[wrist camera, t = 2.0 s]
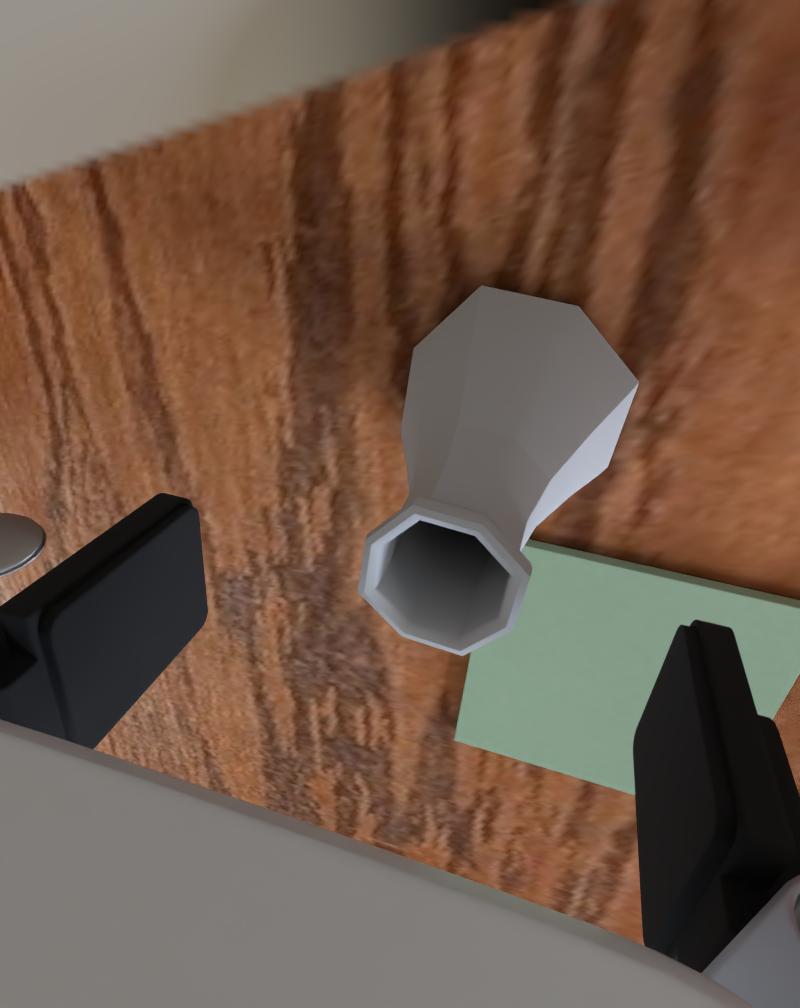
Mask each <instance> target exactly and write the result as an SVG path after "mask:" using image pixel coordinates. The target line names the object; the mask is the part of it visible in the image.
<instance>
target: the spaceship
mask: <svg viewBox="0 0 800 1008" xmlns="http://www.w3.org/2000/svg"><path fill="white" fill-rule="evenodd" d="M46 537H47V535H46V533H45V531H44V529H43V528H42V527H41V526H40V525H38V523H36V522H35V521H33V520H32V519H30V518H28V517H25V516H21V515H16V514H10V513H0V577H3V576H6V575H8V574H11V573H13V572H15V571H17V570H20V569H22V568H24V567H25V566H26V565H28V564H29V563H31V562H32V561H33V560H35V559H36V558H37V557H38V556H39V554H40V553H41V552H42V550H43V549H44V548H45V544H46Z"/></svg>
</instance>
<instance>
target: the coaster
mask: <svg viewBox="0 0 800 1008" xmlns="http://www.w3.org/2000/svg"><path fill="white" fill-rule="evenodd" d="M521 552H522V553H523V554H524V556H525V557H526V558H527V559H528V560H529V561H530V562H531V566H532V574H531V577H530V580H529V583H528V586H527V589H526V592H525V595H524V598H523V601H522V604H521V607H520V610H519V613H518V616H517V619H516V622H515V625H514V628H513V630H512V631H510V632H509V633H507V634H505V635H503V636H501V637H499V638H497V639H495V640H493V641H491V642H489V643H487V644H485V645H483V646H481V647H479V648H477V649H475V650H473V651H471V652H470V657H469V662H468V668H467V673H466V678H465V683H464V689H463V694H462V699H461V704H460V710H459V715H458V720H457V725H456V731H455V736H454V740H455V741H459V742H462V743H465V744H468V745H472V746H475V747H478V748H482V749H485V750H488V751H491V752H495V753H498V754H501V755H505V756H508V757H511V758H515V759H518V760H521V761H524V762H528V763H531V764H534V765H538V766H541V767H544V768H547V769H551V770H554V771H557V772H561V773H564V774H567V775H571V776H574V777H577V778H580V779H584V780H587V781H590V782H594V783H597V784H600V785H603V786H607V787H610V788H613V789H617V790H620V791H623V792H627V793H630V794H633V795H635V781H634V763H633V741H634V735H635V731H636V728H637V726H638V723H639V721H640V719H641V716H642V714H643V711H644V709H645V706H646V704H647V701H648V699H649V697H650V694H651V692H652V689H653V687H654V684H655V682H656V679H657V677H658V675H659V672H660V670H661V667H662V665H663V662H664V660H665V658H666V655H667V653H668V650H669V648H670V645H671V643H672V640H673V638H674V636H675V633H676V631H677V629H678V627H679V626H680V625H686V626H690V625H691V623H692V622H693V621H694V620H696V619H697V620H701V621H705V622H710V623H714V624H718V625H722V626H726V627H730V628H731V629H732V630H733V632H734V635H735V638H736V642H737V645H738V649H739V652H740V655H741V659H742V662H743V666H744V669H745V673H746V676H747V679H748V683H749V686H750V690H751V693H752V697H753V700H754V703H755V707H756V710H757V714H758V715H761V716H765V717H769V718H770V719H773V718H774V716H775V714H776V713H777V711H778V709H779V707H780V706H781V704H782V702H783V701H784V699H785V697H786V696H787V694H788V692H789V690H790V689H791V687H792V685H793V684H794V682H795V680H796V678H797V677H798V675H799V673H800V600H796V599H792V598H787V597H783V596H779V595H774V594H770V593H765V592H761V591H757V590H752V589H748V588H743V587H739V586H734V585H730V584H726V583H721V582H717V581H712V580H708V579H703V578H699V577H695V576H690V575H686V574H681V573H677V572H672V571H668V570H664V569H659V568H655V567H650V566H646V565H641V564H637V563H633V562H628V561H624V560H619V559H615V558H610V557H606V556H602V555H597V554H593V553H588V552H584V551H579V550H575V549H571V548H566V547H562V546H557V545H553V544H548V543H544V542H540V541H535V540H531V539H528V541H527V542H526V544H525V546H524V547H523V549H522V551H521Z"/></svg>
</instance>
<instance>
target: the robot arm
mask: <svg viewBox="0 0 800 1008" xmlns="http://www.w3.org/2000/svg"><path fill="white" fill-rule="evenodd" d="M207 613H208V607H207V597H206V586H205V575H204V565H203V554H202V543H201V533H200V522H199V514H198V511H197V509H196V508H194V507H193V505H192V503H191V501H190V500H188V499H186V498H182V497H178V496H174V495H169V494H165V493H160V494H158V495H156V496H155V497H153V498H152V499H150V500H149V501H148V502H146V503H145V504H143V505H142V506H141V507H139V508H138V509H136V510H135V511H134V512H132V513H131V514H129V515H128V516H126V517H125V518H124V519H122V520H121V521H119V522H118V523H117V524H115V525H114V526H112V527H111V528H110V529H108V530H107V531H105V532H104V533H103V534H101V535H100V536H98V537H97V538H96V539H94V540H93V541H91V542H90V543H89V544H87V545H86V546H84V547H83V548H82V549H80V550H79V551H77V552H76V553H75V554H73V555H72V556H70V557H69V558H68V559H66V560H65V561H63V562H62V563H61V564H59V565H58V566H56V567H55V568H53V569H52V570H51V571H49V572H48V573H46V574H45V575H44V576H42V577H41V578H39V579H38V580H37V581H35V582H34V583H32V584H31V585H30V586H28V587H27V588H25V589H24V590H23V591H21V592H20V593H18V594H17V595H16V596H14V597H13V598H11V599H10V600H9V601H7V602H6V603H4V604H3V605H2V606H0V1008H800V797H799V793H798V790H797V787H796V784H795V781H794V778H793V775H792V772H791V768H790V765H789V762H788V759H787V756H786V753H785V750H784V747H783V744H782V740H781V737H780V734H779V731H778V729H777V727H776V724H775V722H774V721H773V720H772V719H770V718H769V717H765V716H761V715H758V714H757V710H756V707H755V703H754V700H753V697H752V693H751V690H750V686H749V683H748V679H747V676H746V673H745V669H744V666H743V662H742V659H741V655H740V652H739V649H738V645H737V642H736V638H735V635H734V632H733V630H732V629H731V628H730V627H726V626H722V625H718V624H714V623H710V622H705V621H701V620H697V619H696V620H694V621H693V622H692V623H691V625H690V626H686V625H680V626H679V627H678V629H677V631H676V633H675V636H674V638H673V640H672V643H671V645H670V648H669V650H668V653H667V655H666V658H665V660H664V662H663V665H662V667H661V670H660V672H659V675H658V677H657V679H656V682H655V684H654V687H653V689H652V692H651V694H650V697H649V699H648V701H647V704H646V706H645V709H644V711H643V714H642V716H641V719H640V721H639V723H638V726H637V728H636V731H635V735H634V741H633V763H634V781H635V799H636V817H637V835H638V853H639V872H640V890H641V908H642V926H643V939H644V944H645V946H643V945H641V944H638V943H636V942H634V941H631V940H629V939H627V938H624V937H622V936H619V935H617V934H615V933H612V932H610V931H608V930H605V929H603V928H600V927H597V926H595V925H592V924H589V923H587V922H584V921H581V920H578V919H576V918H573V917H570V916H568V915H565V914H562V913H560V912H557V911H554V910H551V909H549V908H546V907H543V906H541V905H538V904H535V903H533V902H530V901H527V900H524V899H522V898H519V897H516V896H514V895H511V894H508V893H506V892H503V891H500V890H497V889H495V888H492V887H489V886H486V885H483V884H480V883H477V882H475V881H472V880H469V879H466V878H463V877H460V876H458V875H455V874H452V873H449V872H446V871H443V870H441V869H438V868H435V867H432V866H429V865H426V864H423V863H421V862H418V861H415V860H412V859H409V858H406V857H404V856H401V855H398V854H395V853H392V852H389V851H387V850H384V849H381V848H378V847H375V846H372V845H369V844H367V843H364V842H361V841H358V840H355V839H352V838H350V837H347V836H344V835H341V834H338V833H335V832H332V831H329V830H326V829H324V828H321V827H318V826H315V825H312V824H309V823H306V822H303V821H301V820H298V819H295V818H292V817H289V816H286V815H283V814H280V813H277V812H275V811H272V810H269V809H266V808H263V807H260V806H257V805H254V804H251V803H249V802H246V801H243V800H240V799H237V798H234V797H231V796H228V795H225V794H222V793H219V792H217V791H214V790H211V789H208V788H205V787H202V786H199V785H196V784H193V783H190V782H188V781H185V780H182V779H179V778H176V777H173V776H170V775H167V774H164V773H161V772H158V771H155V770H152V769H149V768H146V767H143V766H140V765H137V764H134V763H132V762H129V761H126V760H123V759H120V758H117V757H114V756H111V755H108V754H105V753H102V752H99V751H96V750H93V749H94V748H95V747H96V746H97V745H98V744H99V742H100V741H101V740H102V739H103V738H104V737H105V736H106V735H107V733H108V732H109V731H110V730H111V729H112V728H113V727H114V726H115V724H116V723H117V722H118V721H119V720H120V719H121V718H122V717H123V715H124V714H125V713H126V712H127V711H128V710H129V709H130V708H131V706H132V705H133V704H134V703H135V702H136V701H137V700H138V699H139V697H140V696H141V695H142V694H143V693H144V692H145V691H146V690H147V689H148V687H149V686H150V685H151V684H152V683H153V682H154V681H155V680H156V678H157V677H158V676H159V675H160V674H161V673H162V672H163V671H164V669H165V668H166V667H167V666H168V665H169V664H170V663H171V662H172V660H173V659H174V658H175V657H176V656H177V655H178V654H179V653H180V651H181V650H182V649H183V648H184V647H185V646H186V645H187V644H188V642H189V641H190V640H191V639H192V638H193V637H194V636H195V635H196V633H197V632H198V631H199V630H200V629H201V628H202V626H203V625H204V623H205V621H206V618H207Z"/></svg>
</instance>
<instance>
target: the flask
mask: <svg viewBox="0 0 800 1008" xmlns="http://www.w3.org/2000/svg"><path fill="white" fill-rule="evenodd" d="M638 384H639V381H638V380H637V379H636V377H635V376H634V375H633V374H632V372H631V371H630V370H629V369H628V367H627V366H626V365H625V364H624V362H623V361H622V360H621V359H620V357H619V356H618V355H617V354H616V352H615V351H614V350H613V349H612V347H611V346H610V345H609V343H608V342H607V341H606V340H605V338H604V337H603V336H602V335H601V333H600V332H599V331H598V330H597V328H596V327H595V326H594V325H593V323H592V322H591V321H590V320H589V318H588V317H587V316H586V315H585V313H584V312H583V311H582V310H581V308H580V307H579V306H575V305H571V304H566V303H561V302H557V301H552V300H547V299H543V298H538V297H533V296H529V295H524V294H519V293H515V292H510V291H505V290H501V289H496V288H491V287H487V286H482V285H481V286H480V287H479V288H478V289H477V290H476V291H475V292H474V293H473V294H472V295H470V296H469V297H468V298H467V299H466V300H465V301H464V302H463V303H462V304H461V305H460V306H459V307H458V308H456V309H455V310H454V311H453V312H452V313H451V314H450V315H449V316H448V317H447V318H446V319H445V320H444V321H442V322H441V323H440V324H439V325H438V326H437V327H436V328H435V329H434V330H433V331H432V332H431V333H430V334H428V335H427V336H426V337H425V338H424V339H423V340H422V341H421V342H420V343H419V344H418V345H417V346H415V347H414V349H413V355H412V362H411V368H410V374H409V380H408V387H407V393H406V399H405V406H404V412H403V418H402V424H401V438H402V443H403V448H404V453H405V458H406V463H407V473H408V484H409V496H408V498H407V500H406V502H405V504H404V505H403V507H402V509H401V510H399V511H398V512H397V513H395V514H394V515H393V516H391V517H390V518H388V519H387V520H386V521H384V522H383V523H382V524H380V525H379V526H378V527H376V528H375V529H374V530H372V531H371V532H370V533H368V535H367V537H366V539H365V545H364V552H363V559H362V566H361V573H360V581H359V588H358V593H359V594H360V595H361V596H362V597H363V598H364V599H365V600H366V601H367V602H368V603H369V604H370V605H371V606H372V607H373V608H374V609H375V610H376V611H377V612H378V613H379V614H380V615H381V616H382V617H383V618H384V619H385V620H386V621H387V622H388V623H389V624H390V625H391V626H392V627H393V628H394V629H395V630H396V631H397V632H398V633H399V634H400V635H401V636H403V637H406V638H409V639H412V640H415V641H418V642H421V643H424V644H427V645H430V646H433V647H436V648H439V649H442V650H445V651H448V652H451V653H454V654H458V655H461V656H464V655H465V654H467V653H469V652H471V651H473V650H475V649H477V648H479V647H481V646H483V645H485V644H487V643H489V642H491V641H493V640H495V639H497V638H499V637H501V636H503V635H505V634H507V633H509V632H510V631H512V630H513V628H514V625H515V622H516V619H517V616H518V613H519V610H520V607H521V604H522V601H523V598H524V595H525V592H526V589H527V586H528V583H529V580H530V577H531V574H532V566H531V562H530V561H529V560H528V559H527V558H526V557H525V556H524V554H523V553H522V552H521V551H522V549H523V547H524V546H525V544H526V542H527V541H528V539H529V537H530V536H531V534H532V532H533V531H534V529H535V527H536V526H537V525H539V524H540V523H541V522H542V521H543V520H544V519H545V518H546V517H548V516H549V515H550V514H551V513H552V512H553V511H554V510H555V509H557V508H558V507H559V506H560V505H561V504H562V503H563V502H564V501H566V500H567V499H568V498H569V497H570V496H571V495H573V494H574V493H575V492H577V491H578V490H579V489H581V488H582V487H583V486H585V485H586V484H587V483H589V482H590V481H591V480H593V479H594V478H595V477H597V476H598V475H599V474H600V473H602V472H603V471H604V470H605V469H606V468H607V467H608V465H609V462H610V460H611V457H612V454H613V451H614V449H615V446H616V443H617V441H618V438H619V435H620V433H621V430H622V427H623V425H624V422H625V419H626V416H627V414H628V411H629V408H630V406H631V403H632V400H633V398H634V395H635V392H636V390H637V387H638Z"/></svg>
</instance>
